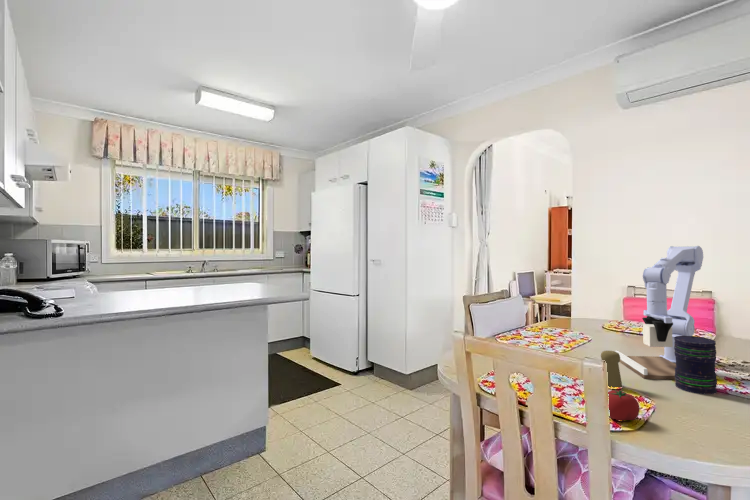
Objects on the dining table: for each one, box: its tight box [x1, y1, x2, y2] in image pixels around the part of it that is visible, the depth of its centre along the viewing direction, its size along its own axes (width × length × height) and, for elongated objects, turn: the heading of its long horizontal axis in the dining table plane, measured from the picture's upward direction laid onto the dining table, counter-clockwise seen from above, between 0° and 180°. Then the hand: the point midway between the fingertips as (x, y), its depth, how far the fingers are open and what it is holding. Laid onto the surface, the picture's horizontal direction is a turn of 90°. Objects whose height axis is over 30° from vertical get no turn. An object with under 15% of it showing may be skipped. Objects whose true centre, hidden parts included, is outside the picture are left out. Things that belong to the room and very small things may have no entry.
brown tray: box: [614, 350, 676, 381], centre depth 134 cm, size 16×22×3 cm
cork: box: [600, 350, 623, 387], centre depth 119 cm, size 6×6×11 cm
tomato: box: [608, 390, 641, 422], centre depth 98 cm, size 8×8×7 cm
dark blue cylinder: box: [674, 335, 718, 396], centre depth 115 cm, size 10×10×15 cm
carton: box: [642, 323, 673, 348], centre depth 135 cm, size 5×7×7 cm
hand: (657, 339), depth 135 cm, fingers closed on carton, 5 cm apart
